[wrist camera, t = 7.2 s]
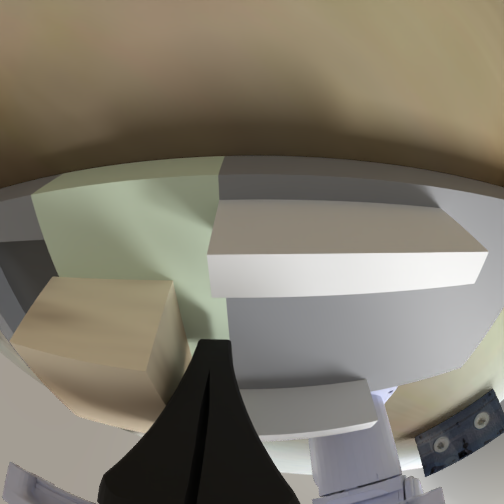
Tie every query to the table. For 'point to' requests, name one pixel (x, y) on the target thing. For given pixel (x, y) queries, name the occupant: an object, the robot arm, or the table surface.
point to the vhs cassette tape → (461, 434)
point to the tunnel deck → (279, 269)
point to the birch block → (107, 347)
